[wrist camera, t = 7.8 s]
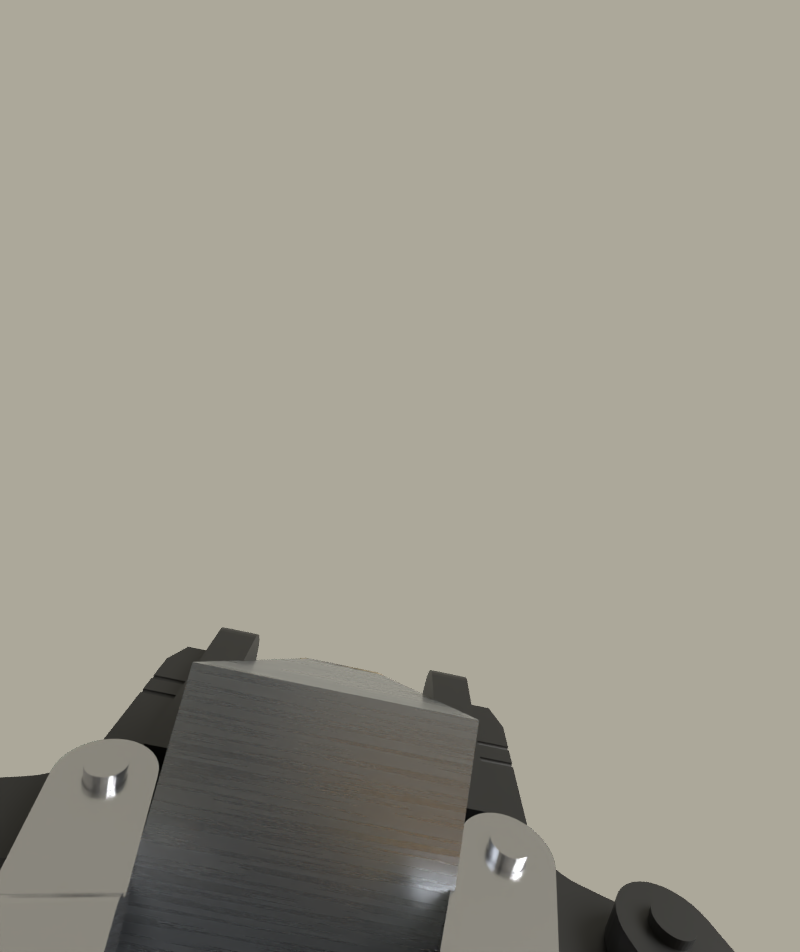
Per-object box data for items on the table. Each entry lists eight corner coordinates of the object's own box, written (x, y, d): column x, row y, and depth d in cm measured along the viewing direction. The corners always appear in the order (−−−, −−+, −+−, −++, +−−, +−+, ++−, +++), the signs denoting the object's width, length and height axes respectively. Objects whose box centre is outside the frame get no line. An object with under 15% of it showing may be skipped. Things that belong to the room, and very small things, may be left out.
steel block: (78, 1017, 6) (184, 660, 7) (289, 731, 29) (306, 658, 30) (437, 1083, 6) (486, 721, 7) (362, 746, 29) (377, 672, 30)
